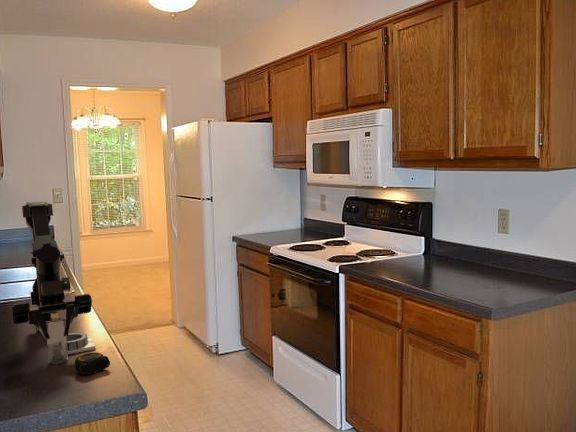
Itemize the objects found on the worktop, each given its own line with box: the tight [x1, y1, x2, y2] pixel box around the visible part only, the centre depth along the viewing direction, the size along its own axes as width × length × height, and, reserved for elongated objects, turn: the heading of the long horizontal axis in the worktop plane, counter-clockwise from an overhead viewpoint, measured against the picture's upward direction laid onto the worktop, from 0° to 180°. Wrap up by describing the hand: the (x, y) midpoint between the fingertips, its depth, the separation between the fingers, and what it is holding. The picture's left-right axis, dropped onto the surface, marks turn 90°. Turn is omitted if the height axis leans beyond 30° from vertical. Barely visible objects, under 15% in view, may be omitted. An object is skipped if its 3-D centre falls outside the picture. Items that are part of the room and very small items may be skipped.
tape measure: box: [74, 352, 111, 375], centre depth 131 cm, size 7×7×4 cm
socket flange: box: [66, 332, 97, 355], centre depth 148 cm, size 11×11×3 cm
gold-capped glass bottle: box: [46, 311, 69, 365], centre depth 138 cm, size 4×4×12 cm
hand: (56, 337), depth 137 cm, fingers closed on gold-capped glass bottle, 4 cm apart
